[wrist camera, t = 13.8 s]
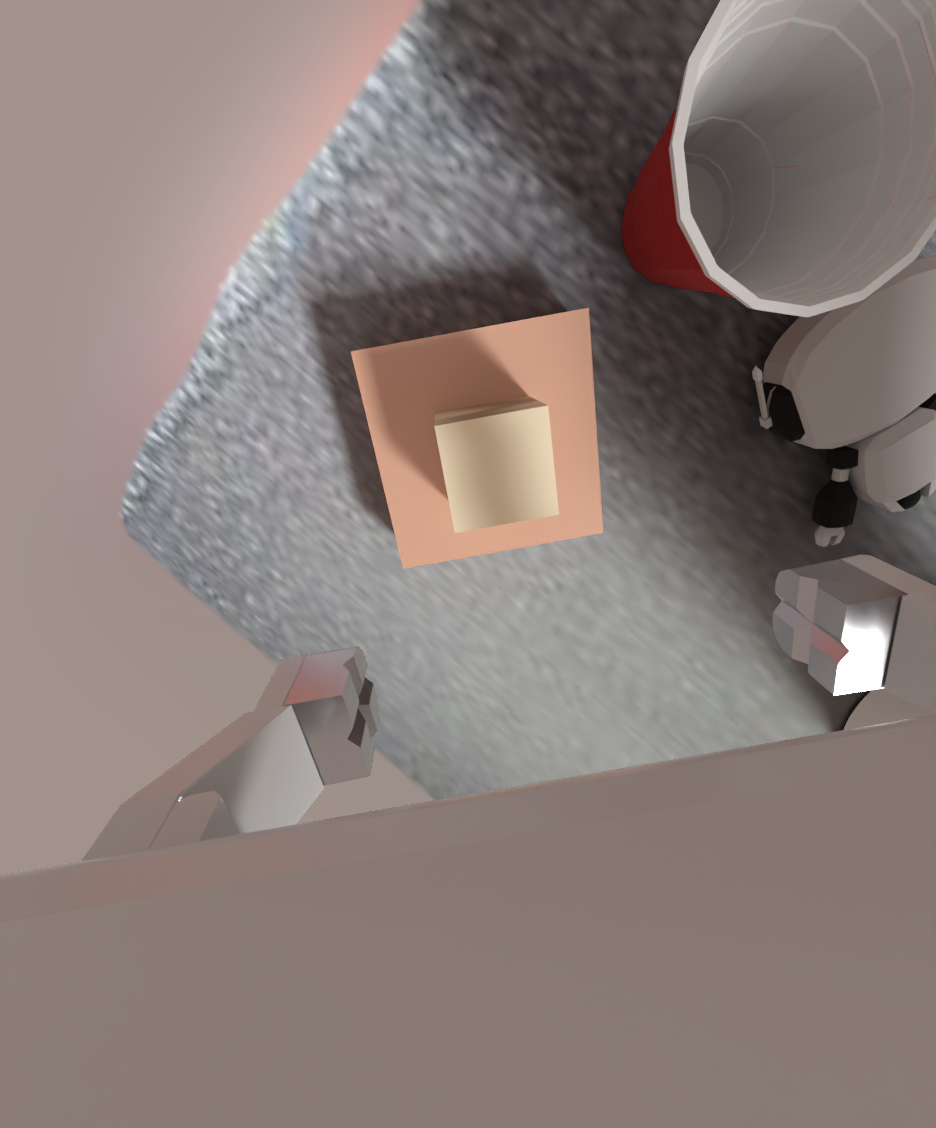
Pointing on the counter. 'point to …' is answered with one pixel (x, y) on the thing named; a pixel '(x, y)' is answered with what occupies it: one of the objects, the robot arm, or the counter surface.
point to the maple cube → (497, 463)
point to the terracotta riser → (468, 378)
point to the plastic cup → (794, 156)
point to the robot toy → (861, 397)
